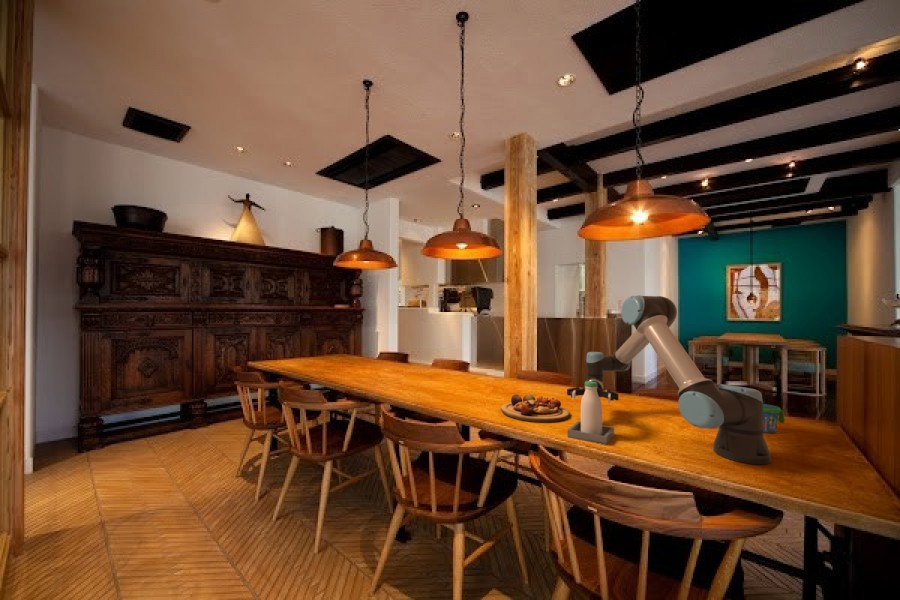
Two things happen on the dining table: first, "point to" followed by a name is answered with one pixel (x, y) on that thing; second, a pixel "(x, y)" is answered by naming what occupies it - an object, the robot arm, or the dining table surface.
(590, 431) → the milk bottle
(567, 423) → the dining table surface
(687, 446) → the dining table surface
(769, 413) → the snack cup
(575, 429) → the bottle tray
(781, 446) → the dining table surface
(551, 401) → the wooden plate with food
